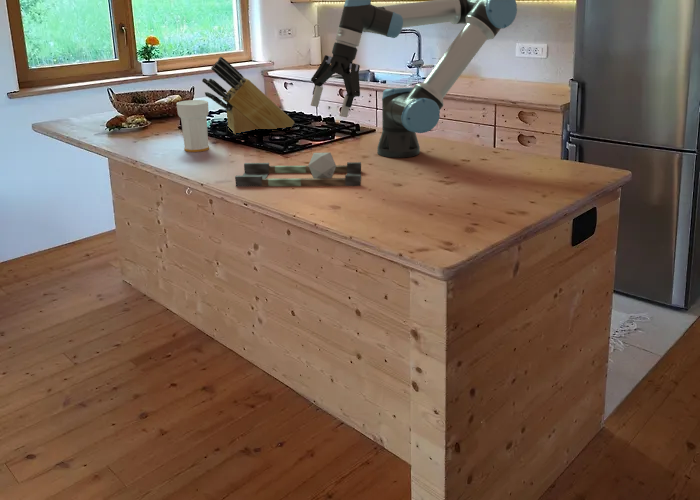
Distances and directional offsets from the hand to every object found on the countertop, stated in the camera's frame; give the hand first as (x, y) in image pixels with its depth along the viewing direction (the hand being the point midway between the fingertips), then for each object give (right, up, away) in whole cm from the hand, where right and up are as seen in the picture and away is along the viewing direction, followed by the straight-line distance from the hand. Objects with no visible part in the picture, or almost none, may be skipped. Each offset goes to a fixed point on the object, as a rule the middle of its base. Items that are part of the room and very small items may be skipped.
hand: (328, 111), depth 221 cm
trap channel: (-9, -22, -2) cm, 23 cm away
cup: (-50, -7, +38) cm, 64 cm away
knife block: (-34, +5, +68) cm, 76 cm away
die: (-2, -22, -2) cm, 22 cm away
